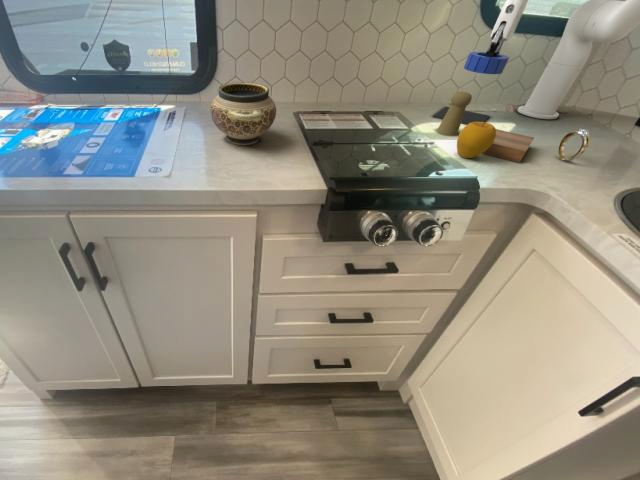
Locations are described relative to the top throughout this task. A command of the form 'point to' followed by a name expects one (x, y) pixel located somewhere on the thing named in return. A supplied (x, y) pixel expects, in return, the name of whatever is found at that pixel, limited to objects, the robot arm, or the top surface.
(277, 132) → the top surface
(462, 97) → the tan pawn figure
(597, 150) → the top surface
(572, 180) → the top surface
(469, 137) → the apple
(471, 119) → the mat
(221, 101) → the floral ceramic pot
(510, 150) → the platform
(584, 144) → the ring
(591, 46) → the robot arm
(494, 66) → the ring
